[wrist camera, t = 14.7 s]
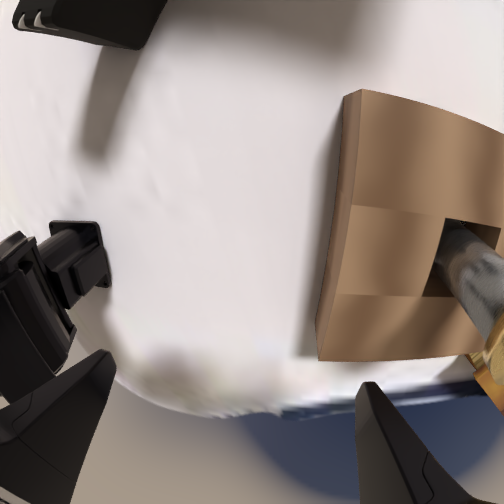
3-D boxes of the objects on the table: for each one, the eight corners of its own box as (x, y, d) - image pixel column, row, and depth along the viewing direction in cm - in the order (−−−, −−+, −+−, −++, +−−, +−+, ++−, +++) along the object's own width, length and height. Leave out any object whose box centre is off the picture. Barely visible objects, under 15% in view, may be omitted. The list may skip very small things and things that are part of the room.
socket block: (314, 322, 23) (318, 361, 19) (343, 96, 15) (361, 88, 11) (472, 322, 22) (490, 350, 18) (523, 152, 14) (556, 164, 10)
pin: (417, 274, 20) (489, 398, 9) (400, 222, 18) (499, 343, 7) (464, 247, 18) (554, 348, 7) (452, 193, 17) (572, 280, 5)
